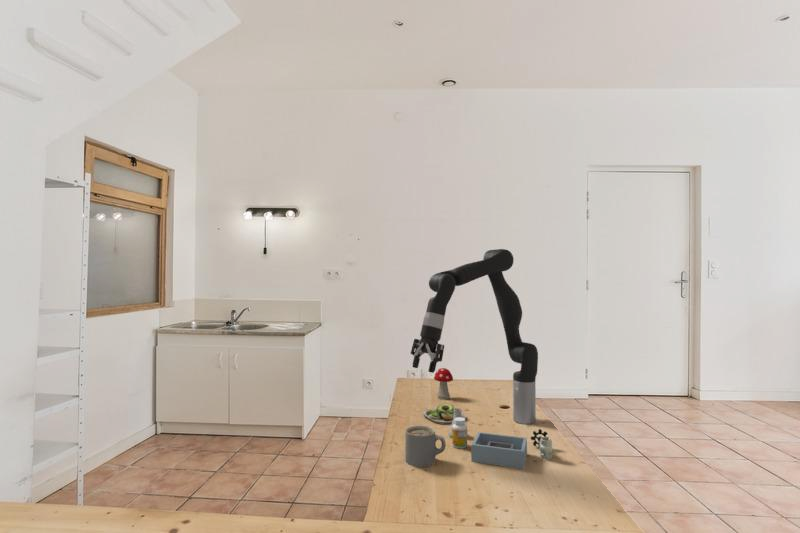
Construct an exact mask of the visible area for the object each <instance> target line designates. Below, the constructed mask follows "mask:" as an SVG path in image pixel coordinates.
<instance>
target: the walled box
mask: <svg viewBox="0 0 800 533" xmlns="http://www.w3.org/2000/svg"><path fill="white" fill-rule="evenodd" d="M470 445H471V452H470V453H471V456H470V457H471V458H470V460H471V462H474V463H479V464H487V465H488V464H489V465H495V466H501V467H508V468H516V469H522V470H524V469H525V466H526V461H527V455H528V437H524V436H515V435H508V434H507V435H506V434H499V433H491V432H482V431H477V433H476V435H475V437H474V439H473V440H472V443H471V444H470Z"/></svg>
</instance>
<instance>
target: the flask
mask: <svg viewBox="0 0 800 533" xmlns="http://www.w3.org/2000/svg"><path fill="white" fill-rule="evenodd" d="M453 410H454V419H455V418H457V417H461V413H462V412H463V410H462V408H457V409H455V408H454V409H453ZM454 419H453V422H452V424H450V428H449V431H448V436H449V438H452V426H453V425H454V424H455V423H454Z"/></svg>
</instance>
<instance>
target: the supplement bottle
mask: <svg viewBox="0 0 800 533" xmlns="http://www.w3.org/2000/svg"><path fill="white" fill-rule="evenodd" d="M454 423H455V424H454V425H453V426H452V437H451V438H452V439H451V441H452V443H451V444H452V447H454V448H456V449H465V448H467V446H468V426H467V425H466V418H461V417H457V418H455V419H454Z"/></svg>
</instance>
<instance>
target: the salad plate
mask: <svg viewBox="0 0 800 533" xmlns="http://www.w3.org/2000/svg"><path fill="white" fill-rule="evenodd" d="M453 409H458V408H457V407H456V408H455V407H454V405H453V404H452V403H449V402H448V403H447V402H444V403H441V404H439V405H438V406H437V408H436V409H429V410H425V411H424V412H423V416H424V418H426V419H427V420H429V421H431V422H433V423H436V424H441V425H452V422H453V419H454V410H453ZM461 418H465V419H466V418H467V415H466V414H464V413H462V412H461Z"/></svg>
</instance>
